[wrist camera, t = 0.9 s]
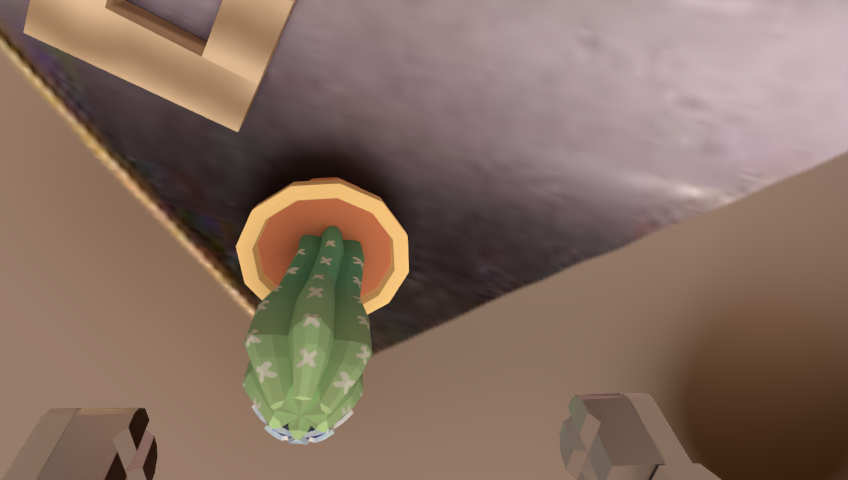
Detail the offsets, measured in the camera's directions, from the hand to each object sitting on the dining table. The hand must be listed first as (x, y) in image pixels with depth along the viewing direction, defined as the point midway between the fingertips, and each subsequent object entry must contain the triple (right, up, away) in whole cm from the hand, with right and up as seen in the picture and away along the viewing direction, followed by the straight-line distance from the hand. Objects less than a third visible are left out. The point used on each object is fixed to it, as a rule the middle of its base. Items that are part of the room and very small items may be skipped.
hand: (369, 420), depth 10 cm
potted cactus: (-9, +6, +43) cm, 44 cm away
